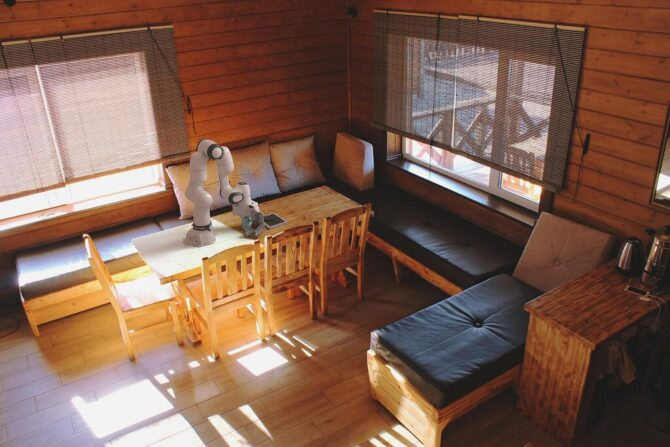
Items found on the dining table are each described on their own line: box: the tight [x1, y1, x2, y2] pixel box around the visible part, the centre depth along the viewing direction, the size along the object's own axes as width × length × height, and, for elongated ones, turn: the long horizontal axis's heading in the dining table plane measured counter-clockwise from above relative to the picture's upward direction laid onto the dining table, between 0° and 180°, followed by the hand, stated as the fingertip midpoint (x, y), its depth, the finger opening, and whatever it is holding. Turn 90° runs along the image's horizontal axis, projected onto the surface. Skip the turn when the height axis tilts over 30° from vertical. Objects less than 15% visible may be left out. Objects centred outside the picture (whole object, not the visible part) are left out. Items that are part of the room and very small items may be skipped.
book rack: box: [243, 211, 266, 240], centre depth 405 cm, size 10×15×14 cm, turn 164°
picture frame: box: [263, 212, 289, 230], centre depth 423 cm, size 16×3×21 cm
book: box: [240, 216, 252, 231], centre depth 417 cm, size 4×11×8 cm, turn 164°
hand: (247, 221), depth 416 cm, fingers open, 5 cm apart
